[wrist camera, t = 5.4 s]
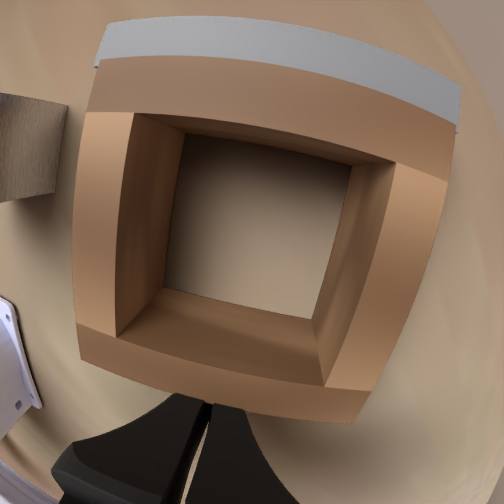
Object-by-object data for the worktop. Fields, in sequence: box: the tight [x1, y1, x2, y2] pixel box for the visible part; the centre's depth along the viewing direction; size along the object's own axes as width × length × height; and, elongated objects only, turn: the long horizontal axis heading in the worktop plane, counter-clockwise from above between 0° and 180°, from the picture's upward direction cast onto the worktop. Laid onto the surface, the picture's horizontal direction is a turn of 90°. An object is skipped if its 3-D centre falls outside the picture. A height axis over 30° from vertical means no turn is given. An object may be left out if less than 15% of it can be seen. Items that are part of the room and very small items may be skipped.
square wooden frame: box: [72, 55, 456, 424], centre depth 8 cm, size 9×9×4 cm
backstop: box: [93, 16, 461, 133], centre depth 7 cm, size 2×10×4 cm, turn 78°
